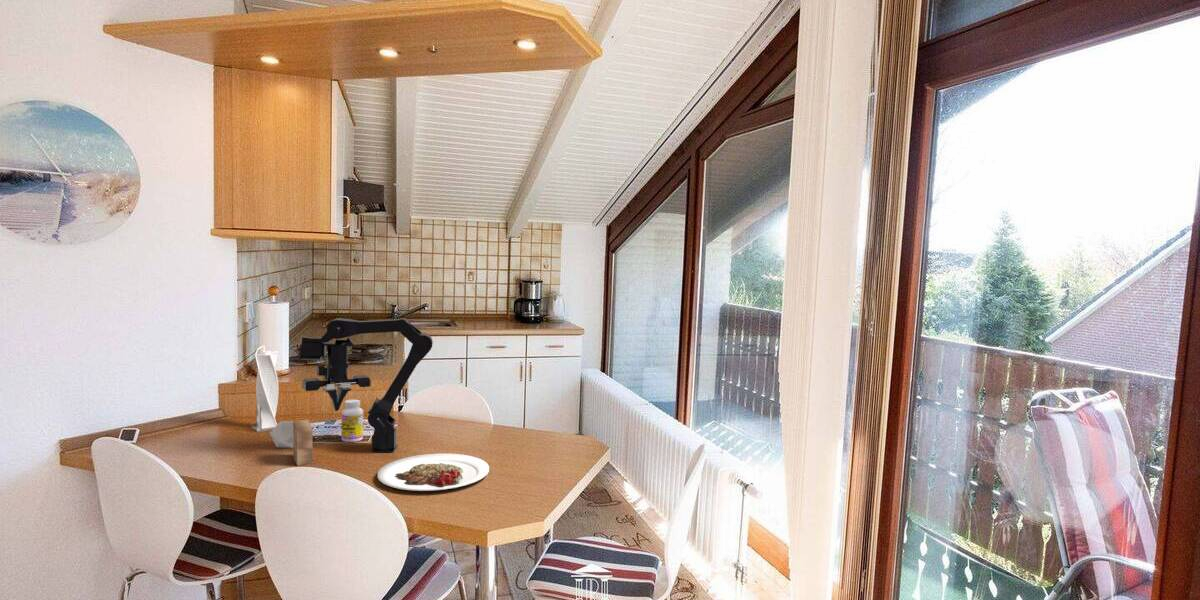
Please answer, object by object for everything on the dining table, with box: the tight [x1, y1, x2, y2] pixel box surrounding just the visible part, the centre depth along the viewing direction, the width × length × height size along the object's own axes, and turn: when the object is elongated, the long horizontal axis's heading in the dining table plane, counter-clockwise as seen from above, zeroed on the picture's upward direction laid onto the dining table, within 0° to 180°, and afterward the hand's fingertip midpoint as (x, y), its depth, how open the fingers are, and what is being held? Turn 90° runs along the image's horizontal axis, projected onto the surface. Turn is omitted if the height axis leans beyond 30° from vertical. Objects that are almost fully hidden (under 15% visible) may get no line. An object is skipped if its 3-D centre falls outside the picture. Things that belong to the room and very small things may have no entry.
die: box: [269, 420, 294, 449], centre depth 203 cm, size 8×9×10 cm
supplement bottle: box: [340, 399, 364, 443], centre depth 211 cm, size 7×7×13 cm
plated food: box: [377, 452, 490, 492], centre depth 180 cm, size 30×30×3 cm
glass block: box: [292, 419, 314, 467], centre depth 189 cm, size 4×9×11 cm, turn 32°
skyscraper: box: [251, 345, 280, 433], centre depth 223 cm, size 8×8×28 cm
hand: (336, 410), depth 198 cm, fingers closed
